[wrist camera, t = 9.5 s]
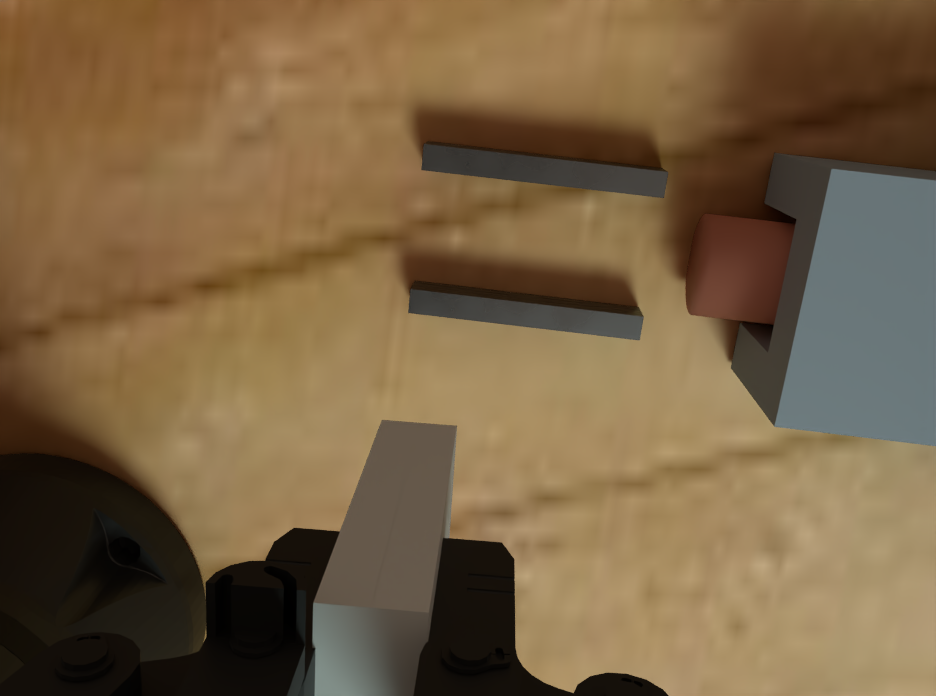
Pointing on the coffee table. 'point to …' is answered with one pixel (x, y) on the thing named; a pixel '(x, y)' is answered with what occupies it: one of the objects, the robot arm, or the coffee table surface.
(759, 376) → the block
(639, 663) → the coffee table surface
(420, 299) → the rails
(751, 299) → the dowel
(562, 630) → the coffee table surface
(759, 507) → the coffee table surface
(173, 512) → the coffee table surface
